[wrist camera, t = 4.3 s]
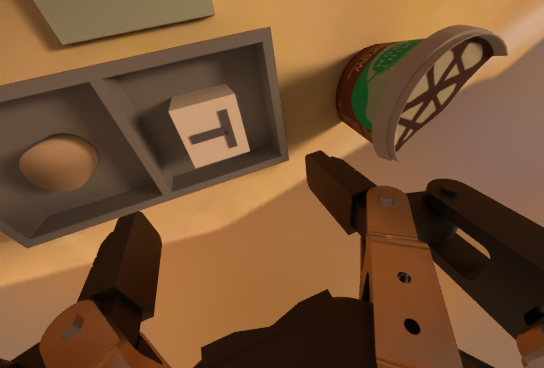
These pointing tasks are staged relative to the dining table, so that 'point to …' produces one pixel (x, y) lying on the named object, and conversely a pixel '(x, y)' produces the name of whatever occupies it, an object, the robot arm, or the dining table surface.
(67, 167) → the tan oval stone
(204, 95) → the letter cube
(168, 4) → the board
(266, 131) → the organiser tray
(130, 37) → the dining table surface
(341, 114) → the food container
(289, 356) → the robot arm
